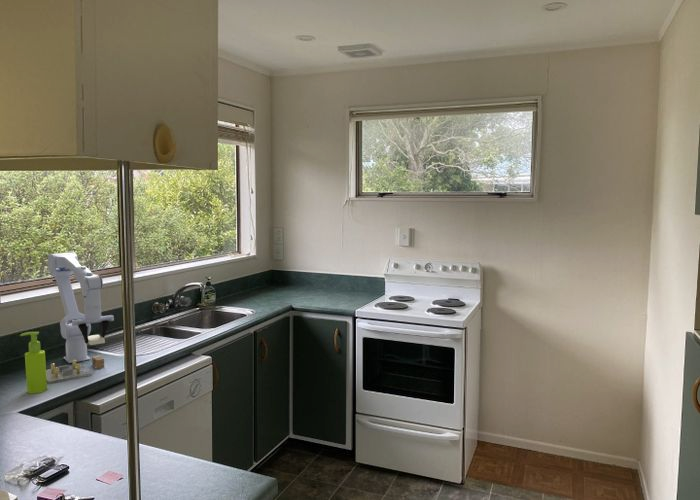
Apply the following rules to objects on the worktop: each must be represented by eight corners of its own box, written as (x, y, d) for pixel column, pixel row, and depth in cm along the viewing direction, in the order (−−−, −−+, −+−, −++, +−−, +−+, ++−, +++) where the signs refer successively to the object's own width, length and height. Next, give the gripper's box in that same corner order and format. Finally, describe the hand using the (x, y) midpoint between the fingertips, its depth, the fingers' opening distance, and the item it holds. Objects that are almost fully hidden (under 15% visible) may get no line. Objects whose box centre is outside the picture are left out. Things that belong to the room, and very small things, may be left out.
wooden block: (92, 364, 212) (91, 356, 211) (100, 363, 213) (99, 355, 213) (96, 368, 207) (96, 360, 207) (104, 367, 209) (103, 358, 208)
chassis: (40, 372, 202) (39, 362, 202) (81, 365, 211) (80, 355, 210) (49, 383, 190) (48, 372, 189) (92, 375, 198) (91, 364, 198)
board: (84, 340, 210) (84, 336, 210) (98, 338, 213) (97, 334, 213) (90, 345, 203) (90, 340, 203) (104, 342, 206) (104, 338, 206)
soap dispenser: (25, 389, 184) (21, 331, 182) (48, 386, 187) (45, 329, 185) (21, 394, 179) (18, 335, 177) (45, 392, 181) (42, 333, 179)
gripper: (74, 310, 200) (76, 347, 201) (115, 305, 209) (117, 340, 210) (69, 308, 205) (71, 343, 206) (110, 303, 214) (111, 337, 215)
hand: (94, 341), depth 208 cm, fingers closed on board, 5 cm apart
